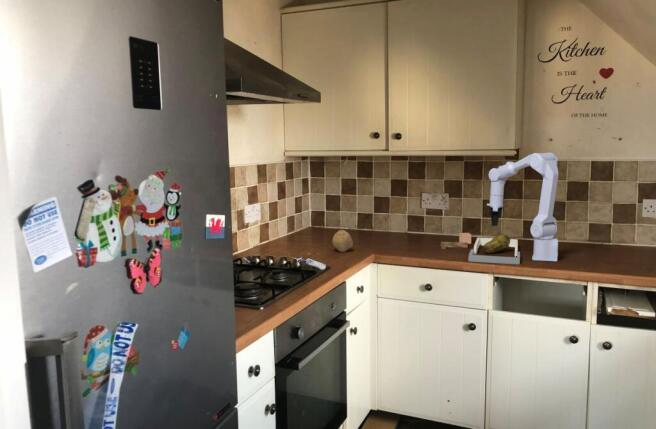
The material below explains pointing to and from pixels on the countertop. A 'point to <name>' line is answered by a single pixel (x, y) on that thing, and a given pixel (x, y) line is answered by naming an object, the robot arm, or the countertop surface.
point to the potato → (497, 244)
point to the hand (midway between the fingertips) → (494, 224)
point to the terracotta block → (465, 237)
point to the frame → (494, 258)
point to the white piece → (483, 240)
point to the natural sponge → (342, 241)
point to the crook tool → (453, 244)
